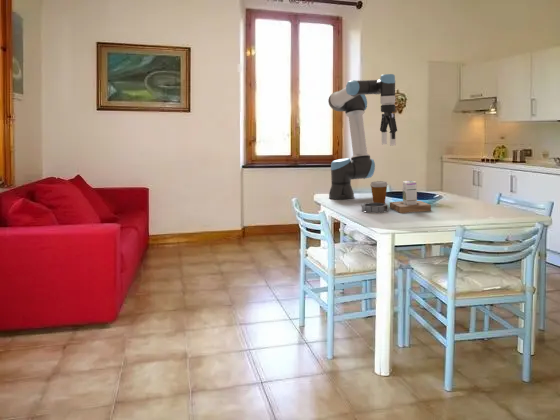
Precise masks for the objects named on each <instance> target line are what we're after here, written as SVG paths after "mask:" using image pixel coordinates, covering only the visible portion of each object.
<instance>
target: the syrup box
mask: <svg viewBox="0 0 560 420" xmlns="http://www.w3.org/2000/svg"><path fill="white" fill-rule="evenodd" d="M417 186H418V185H417V181H415V180H414V181H413V180H405V181H404V180H403V181H402V201H403V205H416V204H417V200H418V198H417V197H418V193H417V191H418V190H417Z"/></svg>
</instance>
